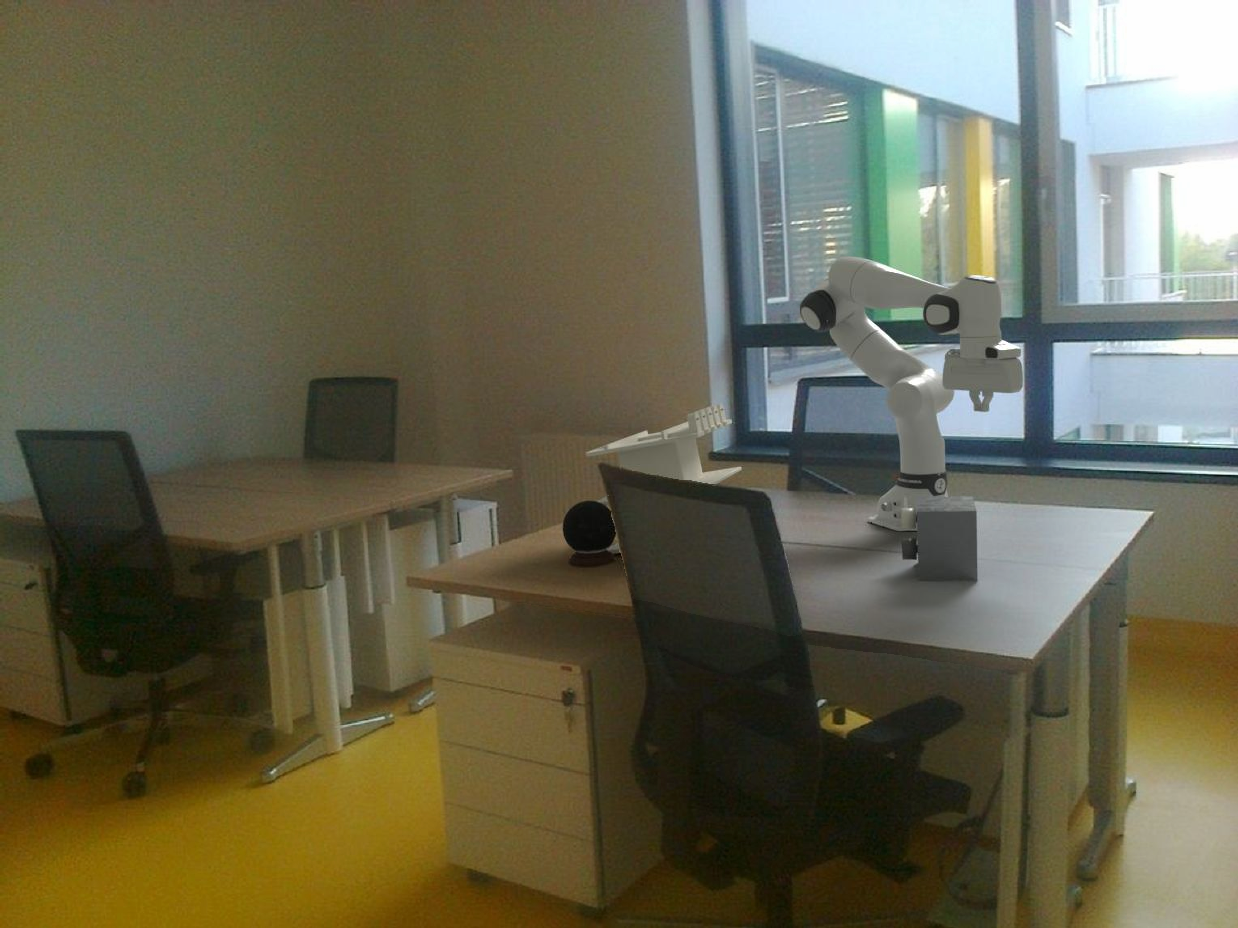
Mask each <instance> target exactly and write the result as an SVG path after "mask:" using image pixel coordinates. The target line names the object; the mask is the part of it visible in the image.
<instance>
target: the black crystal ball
mask: <svg viewBox="0 0 1238 928" xmlns="http://www.w3.org/2000/svg"><path fill="white" fill-rule="evenodd" d="M597 501H598V500H584V501H580V502H578V503H576V504H575V505H573V506H572V507H570V508H569V510H568V511H567V512H566V514H565V516H564V518H563V521H562V534H563V538H564V540H565V542H566V543H567V545H568V546H569V547H570V549H572V550H573V551H575V552H574V553H573V554H572V555H570V558H569V559H568V564H569V565H570V566H571V567H575V568H596V567H597V568H598V567H599V568H600V567H604V566H608V565H610V564H613V563H614V562H615V561H616V557H615V555H614V554H612V553H611V552H609V551H608V550H607V548H609V547H611V546H612V544H613V543H614V541H615V538H616V537H617V536H616V535H617V533H616V532H615V526H614V523H613V520H612V517H611V512H612V510H611V509H610V508H609V507H608V506H607V505H604V504H602V503H599V502H597ZM610 510H611V511H610Z"/></svg>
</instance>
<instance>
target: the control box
mask: <svg viewBox="0 0 1238 928" xmlns="http://www.w3.org/2000/svg"><path fill="white" fill-rule="evenodd" d="M977 511H978V510H977V507H976V504H975V500H974V496H971V495H970V496H966V495H965V496H948V497H917V531H916V534H917V535H916V536H917V538H916V539H917V545H918V553H917V567H918V568H917V573H918V575H917V576H918V577H917V579H918V581H919V582H978V529H977V527H978V524H977V523H978V519H977Z"/></svg>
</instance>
